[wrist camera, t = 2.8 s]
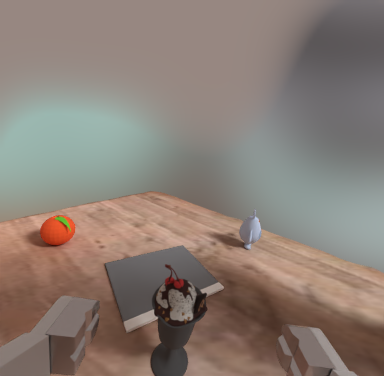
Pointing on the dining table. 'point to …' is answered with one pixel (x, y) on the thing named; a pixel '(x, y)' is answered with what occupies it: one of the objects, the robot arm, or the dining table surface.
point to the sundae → (175, 323)
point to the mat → (153, 281)
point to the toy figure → (250, 230)
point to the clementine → (57, 230)
